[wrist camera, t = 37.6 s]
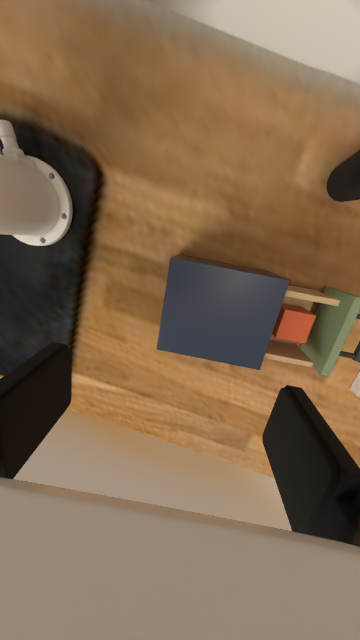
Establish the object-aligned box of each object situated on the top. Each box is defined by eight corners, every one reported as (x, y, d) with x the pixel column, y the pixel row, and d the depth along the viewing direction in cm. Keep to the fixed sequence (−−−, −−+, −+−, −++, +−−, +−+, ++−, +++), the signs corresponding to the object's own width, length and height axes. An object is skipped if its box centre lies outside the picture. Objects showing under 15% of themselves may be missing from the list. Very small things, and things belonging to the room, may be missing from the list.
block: (266, 327, 37) (275, 337, 33) (275, 301, 35) (285, 309, 31) (293, 332, 37) (305, 343, 32) (303, 307, 35) (316, 315, 31)
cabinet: (268, 271, 36) (290, 280, 27) (246, 342, 40) (259, 370, 31) (178, 254, 36) (170, 257, 28) (166, 326, 41) (156, 349, 32)
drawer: (368, 294, 35) (409, 307, 28) (337, 359, 39) (367, 384, 32) (246, 271, 35) (257, 278, 28) (228, 337, 39) (234, 358, 32)
